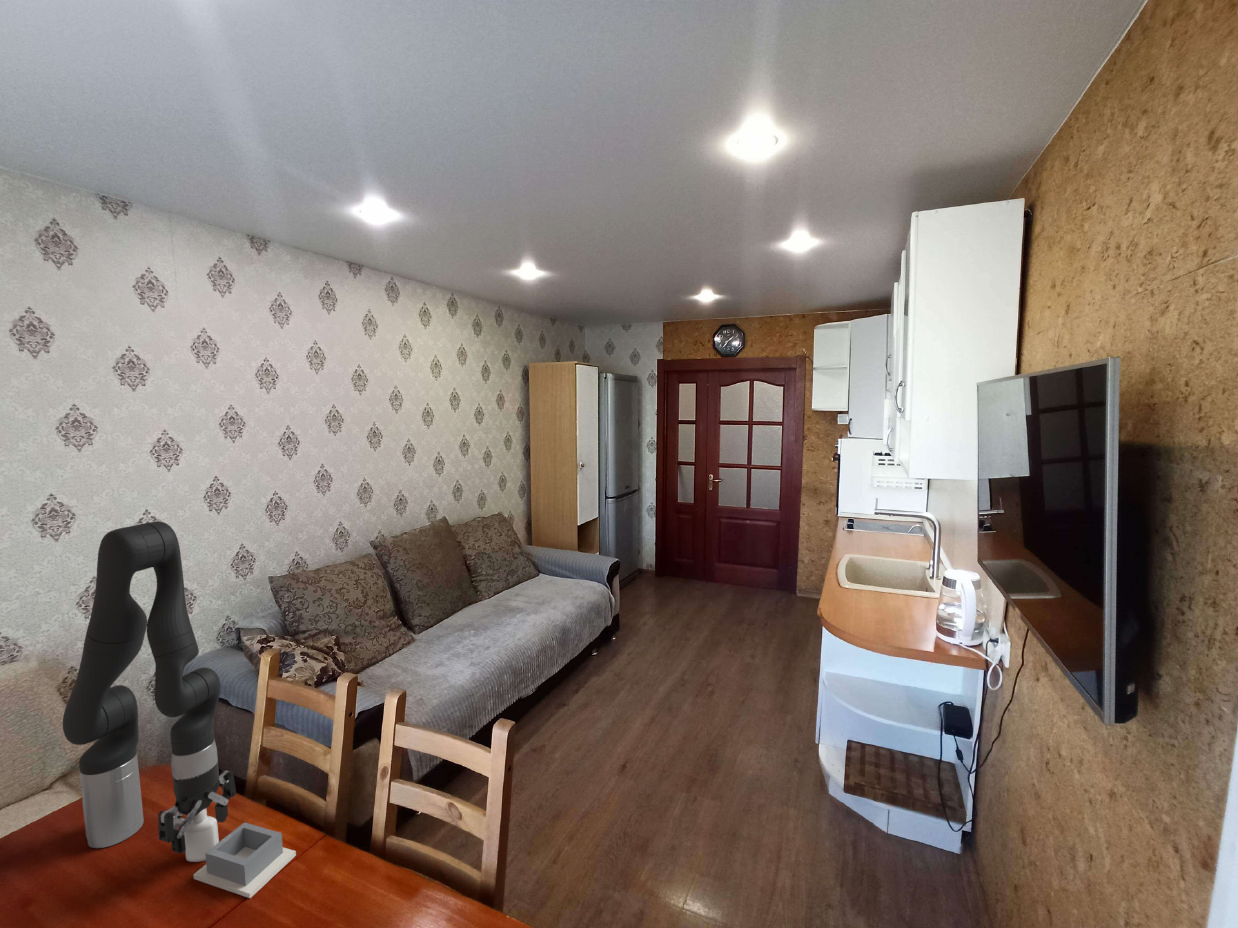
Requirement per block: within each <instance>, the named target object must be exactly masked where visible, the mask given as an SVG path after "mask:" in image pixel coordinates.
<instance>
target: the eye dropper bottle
mask: <svg viewBox="0 0 1238 928" xmlns="http://www.w3.org/2000/svg"><path fill="white" fill-rule="evenodd" d="M207 809H208V808H205V809H203V810H202V811H201V812H200V813H199V814H197V815H196V816H194V817H193V819H192V822H191V823H190V825H188V826H187V828H186V830H185V832H184V834H183V835H185V846H186V851H185V852H184V853H185V860H186V861H188V862H190V863H193V862H194V863H197V862H204V861H206V855H205V853H206V852H207V851H209V850H210V849H211V848H212V847H214V846H215V845H216V844H217V843H219V842H220V840H219V839H220V838H219V831H218V830H219V829H218V821H217V820H216V817H213V816H210V815H208V812H207V811H208V810H207Z"/></svg>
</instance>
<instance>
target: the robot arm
mask: <svg viewBox="0 0 1238 928" xmlns="http://www.w3.org/2000/svg"><path fill="white" fill-rule="evenodd" d="M180 548H181V547H180V543H179V540H178V536H177V534H176V532H175V530H174V529H173V527H171V526H170V524H168V523H166V522H164V521H160V520H159V521H158V520H157V521H151V522H146V523H141V524H136V525H130V526H125V527H120V528H115V529H112V530H111V531H108V532H107V533H105V534H104V536H103V537H102V539H101V541H100V544H99V548H98V551H97V552H98V554H97V561H96V562H97V563H96V576H95V577H96V581H95V590H94V597H93V603H92V608H91V613H90V618H89V622H88V625H87V628H86V633H85V638H84V641H83V647H82V655H81V659H80V662H79V668H78V671H77V676H76V678H75V681H74V684H73V687H72V690H71V693H70V695H69V696H68V697H69V698H68V701H67V703H66V706H65V709H64V713H63V716H62V717H63V718H62V730H63V734H64V737H65V739H66V740H67V741H68V742H69V743H71V744H72V745H76V746H83V745H87V744H90V743H92V742H94V743H93V744H92V745H91V746H90V747H88V749H86V750H85V751H84V752H83V753H82V755H81V756H80V758H79V759H78V760H79V761H78V767H79V777H80V784H81V795H82V799H81V802H82V810H83V821H84V829H85V837H86V840H87V845H88V846H89V847H90V848H92V849H103V848H107V847H112V846H114V845H116V844H119V843H121V842H123V841H125V840H127V839H128V838H131V837H132V836H133V835H135V833H137V832H138V831H140V829H141V827H143V824H144V813H143V801H142V800H143V799H142V791H141V781H140V771H139V762H138V750H137V747H138V743H139V739H140V738H139V735H140V733H139V707H138V706H139V705H138V702H137V701H138V700H137V699H136V695H135V694H134V692H133V691H132V690H131V689H130V688H129V687H128V686H126V685H121V684H118V685H114V686H113V684H114V683H116V681H117V680H118V678H119V677H120V676H121V675H122V674H123V673H124V672H125V671H126V669H127V668H128V667H129V666H130V665H131V663H132V662H134V660H135V658H136V657H137V656H138V654H139V653H140V651H141V650H142V649H141V648H142V646H143V644H144V641H145V635H146V636H147V637H146V638H147V641H148V644H149V647H150V650H151V654H152V656H153V659H154V664H155V673H154V677H155V678H154V682H155V683H154V701H155V702H154V703H155V706H156V708H157V709H158V711H159V712H160V713H161V714H162V715H163V716H165V717H168V718H178V717H180V716H182V717H180V718H179V719H178V720H177V721H175V722H174V724H172V726H171V728H170V733H169V735H170V744H171V745H170V747H171V761H170V762H171V774H172V776H171V777H172V785H173V793H174V796H175V803H174V805H173V807H172V806H171V808H169V809H167V810H163V809H162V810H161V811H159V813H158V814H157V824H158V826H157V827H158V840H159V841H160V842H161V841H163V842H165V843H168V844H169V843H171V851H172V852H174V853H177V854H181V855H182V854H184V853H186V852H185V851H186V846H185V835H184V832H185V830H186V828H187V826H188V825H190V823H191V822H192V820H193V817H194V816H196V815H197V814H199V813H200V812H201V811H202V810H203V809H205V808H206V809H208V807H210V806H211V804H212V802H213V803H215V805H214V810H215V813H214V814H215V819H216V820H217V823H222V824H223V823H224V822H226V821H227V817H228V815H229V811H228V808H229V807H228V803H229V800H230V799H231V798H233V797H235V796H236V794H237V788H236V783H235V782H236V781H235V775H234V772H233V771H229V770H225V769H223V770H221V771H220V772H219V759H218V750H217V749H218V748H217V744H216V740H215V739H216V738H215V730H214V729H215V728H214V719H215V716H216V712H217V706H218V705H219V704H218V702H219V698H220V694H221V680H220V677H219V675H218V674H217V673H216V671H215V670H214V669H212V668H210V667H200V668H196V669H194V670H192V671H190V672H187V673H186V674H184V670H185V668H186V666H187V665H188V664H190V663H191V662H192V661H193V660H194V659H196V658H197V657H198V656H199V653H200V649H199V647H198V643H197V639H196V636H195V633H194V629H193V627H192V623H191V620H190V617H189V612H188V608H187V603H186V593H185V581H184V570H183V565H182V564H183V563H182V556H181V555H182V554H181V549H180ZM152 568H153V571H154V574H155V578H156V590H155V595H154V599H153V603H152V606H151V608H150V609H151V610H150V612H149V615H148V617H147V615H146V612H145V611H144V609H143V608H142V607H141V605H139V603H138V602H137V601H136V599H134V598H133V596H132V594H131V585H132V579H133V577H134V575H135V574H136V573H137V572H141V571H144V570H147V569H152ZM220 785H221V790H222V794H218V793H217V792H218V790H219V787H220ZM184 815H185V816H186V817H185V818H183V817H184Z"/></svg>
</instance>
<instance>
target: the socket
mask: <svg viewBox="0 0 1238 928" xmlns="http://www.w3.org/2000/svg"><path fill="white" fill-rule="evenodd" d="M283 845H284V844H283V834H282V832H280V831H275V830H273V829H268V828H265V827H263V826H259V825H255V824H252V823H249V822H243V823H242V824H240V825H239V826H238V827H236V828H235V829H234V830H233V831H232V832H230V833H229V834H227V835H226V836H225V837H224V838H222V839H221V840H219V843H217V844H216V845H215V846H214V847H212V848H211V849H210V850H209V851H207V852H206V853H205V855H206V860H205V865H203V866H202V867H201V868H199V870H196V872H195V873H194V874H193V880H196V881H199V882H201V883H204V884H208V885H210V886H213V887H216V888H219V889H223V890H225V891H227V892H230V893H233V894H237V895H240V896H242V897H245V898H248V899H252V898H253V896H254V895H256V894H257V893H258V892H259V890H261V889H262V888H263V887H264V886H265V885H266V884H267V883H268V882H269V881H270V880H271V879H273V877H275V876H276V875H277V874H278V873H279V872H280V871H281V870H283V868H284V867H286V866H287V865H288V863H290V862H291V861H292V860H293V859H294V858H295V857H296V856H297V851H296V850H293V849H290V848H286V847H283Z"/></svg>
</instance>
